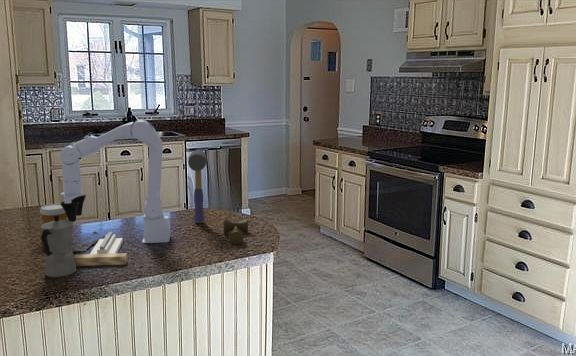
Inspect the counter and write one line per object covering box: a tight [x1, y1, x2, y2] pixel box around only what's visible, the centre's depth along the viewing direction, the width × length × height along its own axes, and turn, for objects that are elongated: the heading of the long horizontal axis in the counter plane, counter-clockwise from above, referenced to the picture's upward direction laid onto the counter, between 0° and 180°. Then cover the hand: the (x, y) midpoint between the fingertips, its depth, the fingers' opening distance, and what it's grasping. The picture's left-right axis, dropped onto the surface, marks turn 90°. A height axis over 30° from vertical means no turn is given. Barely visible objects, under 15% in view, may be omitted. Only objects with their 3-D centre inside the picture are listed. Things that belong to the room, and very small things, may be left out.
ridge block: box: [89, 231, 124, 254], centre depth 168 cm, size 8×16×4 cm, turn 9°
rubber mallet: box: [187, 149, 208, 224], centre depth 198 cm, size 12×8×30 cm, turn 7°
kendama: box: [222, 218, 249, 245], centre depth 184 cm, size 6×10×20 cm
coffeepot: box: [40, 215, 77, 278], centre depth 146 cm, size 15×9×18 cm, turn 179°
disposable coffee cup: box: [39, 203, 68, 224], centre depth 179 cm, size 10×10×12 cm
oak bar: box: [73, 252, 128, 267], centre depth 156 cm, size 16×3×3 cm, turn 97°
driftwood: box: [73, 231, 105, 253], centre depth 175 cm, size 21×7×2 cm, turn 175°
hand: (75, 218), depth 170 cm, fingers open, 7 cm apart
